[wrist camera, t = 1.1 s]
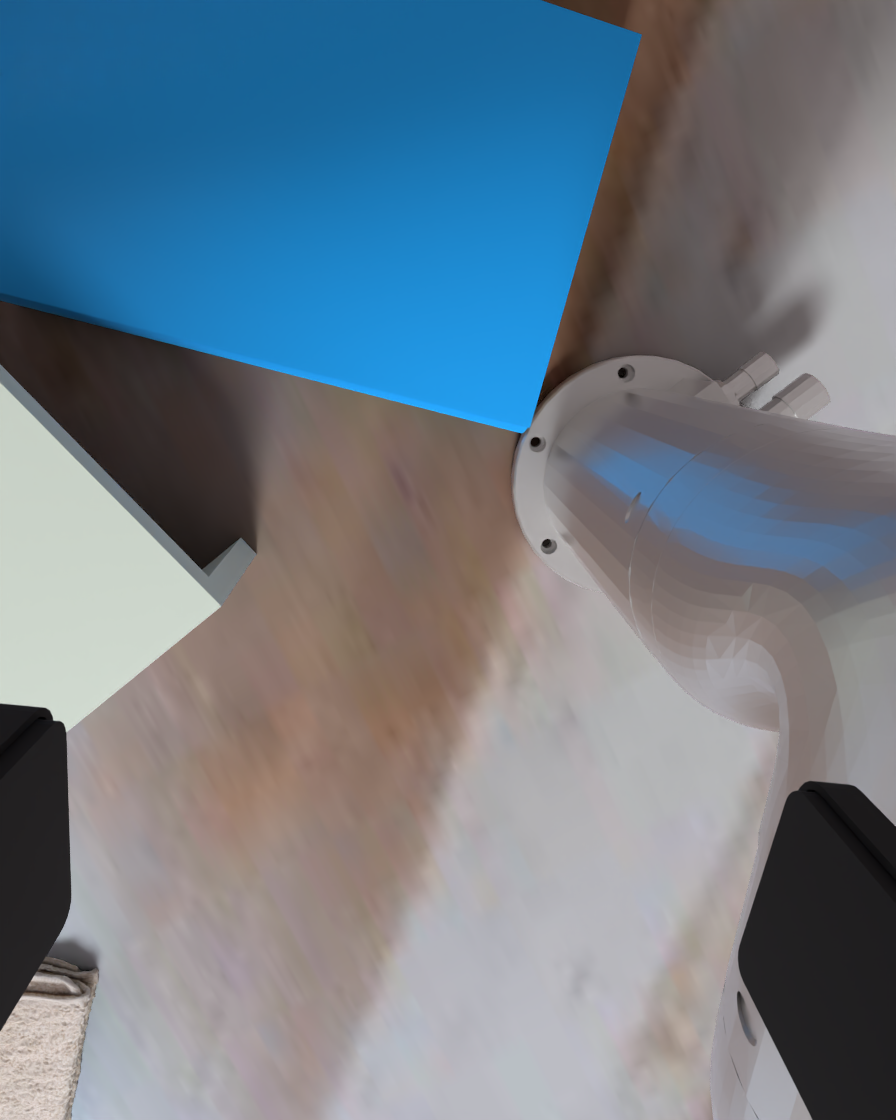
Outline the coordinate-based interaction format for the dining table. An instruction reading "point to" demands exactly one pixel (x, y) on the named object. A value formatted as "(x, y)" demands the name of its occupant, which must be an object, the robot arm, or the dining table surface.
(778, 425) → the robot arm
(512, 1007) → the dining table surface
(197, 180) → the book
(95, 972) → the washcloth
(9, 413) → the shelf
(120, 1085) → the dining table surface
